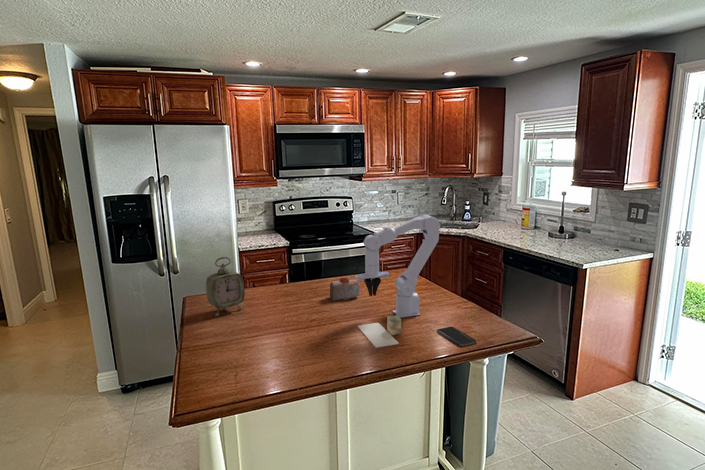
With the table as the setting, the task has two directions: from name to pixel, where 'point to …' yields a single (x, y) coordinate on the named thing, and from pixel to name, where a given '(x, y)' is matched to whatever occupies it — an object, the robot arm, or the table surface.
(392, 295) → the table surface
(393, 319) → the tan and green sponge
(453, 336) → the phone
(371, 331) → the mat
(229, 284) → the tabletop clock
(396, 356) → the table surface
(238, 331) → the table surface
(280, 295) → the table surface
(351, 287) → the grey carrying case
